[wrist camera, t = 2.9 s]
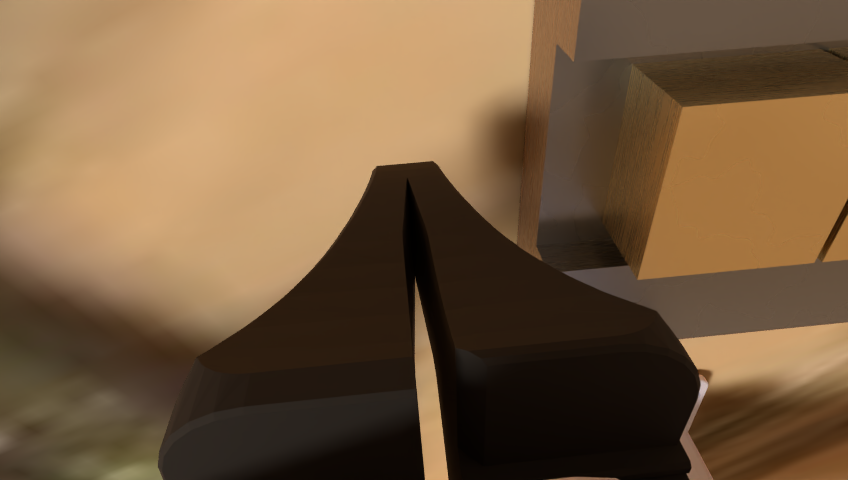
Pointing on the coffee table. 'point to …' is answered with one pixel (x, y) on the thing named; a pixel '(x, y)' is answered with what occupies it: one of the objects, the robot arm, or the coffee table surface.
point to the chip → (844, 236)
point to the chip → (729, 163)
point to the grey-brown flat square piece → (598, 135)
